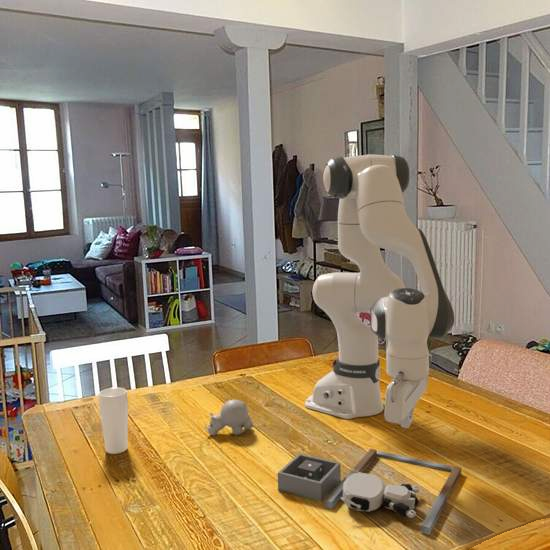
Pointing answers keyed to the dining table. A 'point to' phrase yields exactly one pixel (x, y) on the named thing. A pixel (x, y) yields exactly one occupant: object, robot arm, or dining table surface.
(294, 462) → the tray
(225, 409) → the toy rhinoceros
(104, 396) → the drinking glass
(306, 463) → the die
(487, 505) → the dining table surface
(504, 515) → the dining table surface
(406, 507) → the robot toy
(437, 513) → the track
